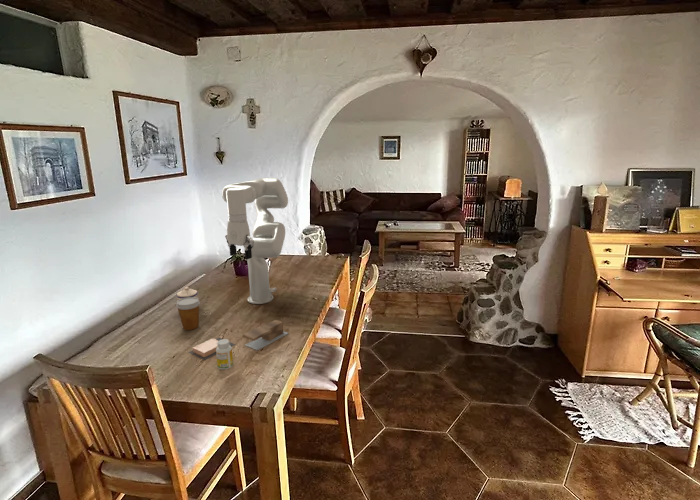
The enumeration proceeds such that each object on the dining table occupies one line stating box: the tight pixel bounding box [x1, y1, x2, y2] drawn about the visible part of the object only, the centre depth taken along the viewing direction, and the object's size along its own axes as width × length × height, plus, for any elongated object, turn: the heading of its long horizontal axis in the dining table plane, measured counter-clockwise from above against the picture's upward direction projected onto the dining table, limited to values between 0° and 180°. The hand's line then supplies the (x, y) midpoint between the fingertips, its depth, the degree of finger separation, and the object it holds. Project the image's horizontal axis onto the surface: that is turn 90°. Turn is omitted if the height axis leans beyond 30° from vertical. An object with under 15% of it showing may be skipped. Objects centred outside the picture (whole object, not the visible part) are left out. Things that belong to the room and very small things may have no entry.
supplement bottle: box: [215, 338, 234, 370], centre depth 144 cm, size 5×5×10 cm
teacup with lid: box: [176, 286, 199, 301], centre depth 192 cm, size 12×9×12 cm
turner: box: [242, 319, 284, 341], centre depth 162 cm, size 16×6×5 cm, turn 145°
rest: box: [244, 330, 289, 351], centre depth 164 cm, size 17×7×1 cm, turn 145°
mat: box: [188, 337, 236, 361], centre depth 157 cm, size 14×10×1 cm
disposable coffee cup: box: [175, 297, 201, 331], centre depth 175 cm, size 10×10×12 cm
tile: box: [192, 338, 218, 357], centre depth 156 cm, size 2×7×9 cm
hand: (240, 256), depth 178 cm, fingers open, 9 cm apart
